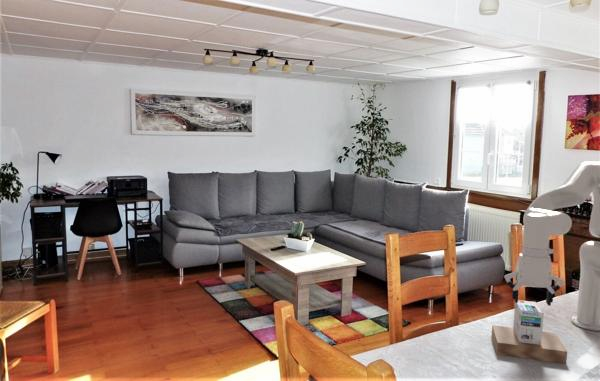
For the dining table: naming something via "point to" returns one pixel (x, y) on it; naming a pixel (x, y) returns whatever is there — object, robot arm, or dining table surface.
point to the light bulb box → (528, 322)
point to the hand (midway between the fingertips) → (531, 302)
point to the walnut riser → (528, 346)
